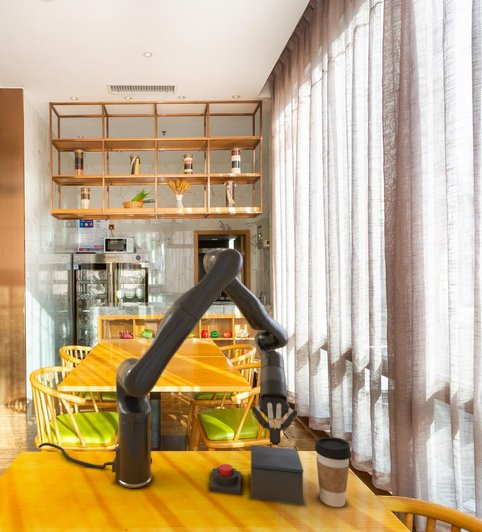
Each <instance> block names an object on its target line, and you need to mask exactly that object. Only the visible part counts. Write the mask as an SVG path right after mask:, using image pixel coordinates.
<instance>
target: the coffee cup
mask: <svg viewBox="0 0 482 532" xmlns="http://www.w3.org/2000/svg"><path fill="white" fill-rule="evenodd" d="M314 451H315V452H316V468H317V479H318V480H317V481H318V490H319V499H320V502H322V503H323V504H324V505H327V506H329V507H332V508H341V507H344V506H345V504H346V495H347V486H348V480H349V469H350V459H351V457H352V451H351V444H350V442H349V441H347V440H346V439H344V438H341V437H331V436H326V437H325V436H324V437H319V438H317V440H316V442H315V445H314Z"/></svg>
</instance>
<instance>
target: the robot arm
mask: <svg viewBox="0 0 482 532" xmlns="http://www.w3.org/2000/svg"><path fill="white" fill-rule="evenodd" d="M202 263H203V268H204V270H205V272H206V274H205V275H204V277H202V279H201V280H200V281H199V282H197V284H195V285H194V286H192V287H191V288H189V289H188V290H187V291H185V292H184V293H183V294H181V295H180V296H179V297H178V298H177V299H176V300H175V301H174V302H173V303H172V304H171V305H170V307H169V308H168V310H166V312H165V313H164V315H163V316H162V318H161V320H160V322H159V325H158V326H157V330H156V332H155V336H154V338H153V340H152V341H151V344H150V345H149V347H148V348H147V349H146V351H145V352H144V353H143V354H142V355H141V357H140V358H136V357H128V358H126V359H125V360H123V361H121V363H120V364H119V365H118V367H117V369H116V374H115V397H116V398H115V399H116V409H117V419H118V420H117V427H118V428H117V445H116V447H115V457H114V459H113V460H112V461H105V462H104V463H103V464H95V463H94V464H93V463H89V462H86V461H83V460H80V459H79V460H78V459H76V458H73V457H71V456H70V455H68V454H67V453H66V451H65V449H64V448H63V447H61V446H60V445H57V444H55V443H52V442H41V444H39V445H38V446H37V448H38V449H40V448H42V447H45V446H46V447H48V446H49V447H52V448H55V449H57V450H59V451H60V452H61V453H62V455H63V457H64V458H65V459H67V460H68V461H70V462H72V463H75V464H78V465H81V466H85V467H88V468H94V469H100V470H101V469H105V468H106V467H107V466H111V473H115V483H116V484H118V485H120V486H122V487H125V488H128V489H138V488H139V489H140V488H143V487H146V486H147V485H149V484H150V483H151V482H152V464H153V457H152V407H151V404H150V401H149V396H148V395H149V394H150V392H151V391H153V389H154V388H155V386H156V385H157V383H158V382H159V379H160V378H161V377H162V375H163V373H164V372H165V370H166V369H167V367H168V366H169V363H170V362H171V360H172V359H173V358H174V356H175V355H176V354H177V353H178V351H179V350H180V348H181V347H182V346H183V344H184V343H185V341H186V340H187V339H188V338H189V336H190V335H191V334H192V332H193V331H194V330H195V329H196V327H197V326H198V325H199V323H200V322H201V320H202V319H203V317H204V316H205V315H206V313H207V312H208V311H209V310H210V309H211V307H212V305H214V303H215V302H216V300H217V299H218V298H219V297H220V295H221V294H222V293H223V292H224V293H225V294H226V295H227V296H228V297H229V299H230V300H231V301H232V303H233V304H234V305H235V306H236V308H237V309H238V311H239V312H240V314H241V315H242V317H243V318H244V320H245V321H246V323H247V324H248V326H249V327H250V329H252V330H253V331H256V333H255V335H254V345H255V346H256V349H257V352H258V357H259V361H260V374H259V401H258V405H256V406H252V407H251V414H252V415H253V417H254V418H255V419H256V421H257V422H258V423H259V425H260V426H261V427H262V429H265V430H268V433H269V434H268V435H269V442H270V443H271V444H272V446H279V444H280V443H281V440H282V438H281V432H282V431H285V432H286V431H287V430H288V428H290V426H291V425H292V423H294V421H295V420H296V419H297V417H298V411H297V410H296V409H295V410H294V409H292V408H291V407H290V404H289V402H288V391H287V377H286V371H285V360H284V356H283V354H282V353H281V352H279V351H276V350H278V349H282V348H285V347H286V346H287V345H288V343H289V340H290V339H289V334H288V332H287V330H286V329H285V328H284V327H283V326H282V325H281V324H280V323H279V322H278V321H276V320H275V319H274V318H273V317H272V316H271V315H270V314H269V313H268V312H267V310H266V308H265V306H264V305H263V304H262V302H261V301H260V300H259V298H258V297H257V296H256V295H255V294H254V293H253V292H252V291H251V290H249V288H247V287H246V286H245V285H244V284H243V282H241V280H240V279H239V278H238V275H239V274H240V272H241V270H242V268H243V263H244V261H243V256H242V253H241V252H239V251H238V250H237V249H235V248H230V247H217V248H212V249H208V251H206V253H205V254H204V257H203V261H202ZM261 412H262V414H263V415H264V416H265V417H266V418H267V420H266V419H265V417H264V416H263V415H262V414H261ZM286 415H287V418H286V419H285V420H284V421H283V423H281V422H282V419H283V418H284V417H285V416H286ZM274 420H275V422H274Z"/></svg>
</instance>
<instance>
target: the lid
mask: <svg viewBox="0 0 482 532" xmlns="http://www.w3.org/2000/svg"><path fill="white" fill-rule="evenodd" d="M251 467H254V468H262V469H271V470H280V471H289V472H298V473H303V474H304V468H303V464H302V461H301V458H300V455H299V451H298V449H295V448H284V447H275V446H274V447H273V446H264V445H255V444H251V445H250V468H251Z"/></svg>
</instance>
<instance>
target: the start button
mask: <svg viewBox="0 0 482 532" xmlns="http://www.w3.org/2000/svg"><path fill="white" fill-rule="evenodd" d="M218 467H219V473H220V475H223V476H232V474H233V468H234V467H233V466H232V465H231V464H228V463H222V464H220V465H219V466H218Z"/></svg>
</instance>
